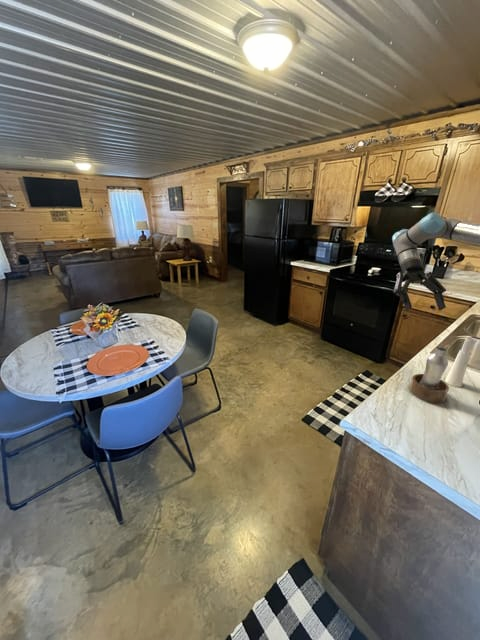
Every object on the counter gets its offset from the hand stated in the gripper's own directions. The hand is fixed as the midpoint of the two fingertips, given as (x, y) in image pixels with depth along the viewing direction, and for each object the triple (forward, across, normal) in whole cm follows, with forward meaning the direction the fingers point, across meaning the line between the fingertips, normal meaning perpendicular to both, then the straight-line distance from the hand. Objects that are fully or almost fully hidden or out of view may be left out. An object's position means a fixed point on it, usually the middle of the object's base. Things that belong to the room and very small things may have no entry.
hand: (425, 309), depth 102 cm
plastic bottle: (+30, -1, -15) cm, 34 cm away
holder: (+31, -1, -15) cm, 35 cm away
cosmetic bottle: (+26, -18, -20) cm, 38 cm away
